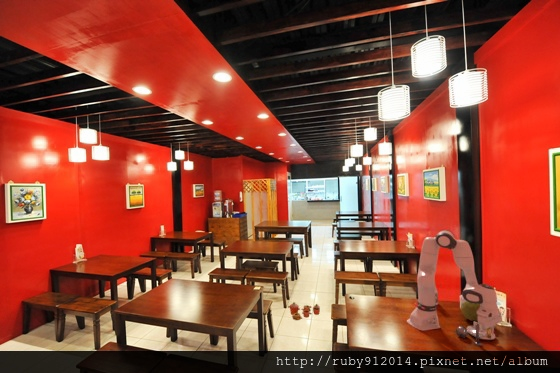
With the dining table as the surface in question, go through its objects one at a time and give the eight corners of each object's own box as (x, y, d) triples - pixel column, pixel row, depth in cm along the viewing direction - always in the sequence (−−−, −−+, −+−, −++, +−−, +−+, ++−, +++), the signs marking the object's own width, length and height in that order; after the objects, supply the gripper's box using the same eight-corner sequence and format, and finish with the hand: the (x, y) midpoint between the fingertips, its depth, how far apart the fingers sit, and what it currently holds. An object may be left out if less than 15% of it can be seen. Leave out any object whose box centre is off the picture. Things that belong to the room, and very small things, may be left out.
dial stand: (479, 346, 156) (478, 325, 156) (471, 342, 160) (471, 322, 160) (483, 345, 158) (482, 324, 158) (475, 341, 162) (475, 321, 162)
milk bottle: (425, 302, 217) (424, 279, 218) (433, 301, 218) (433, 278, 218) (431, 306, 210) (430, 282, 210) (440, 305, 210) (439, 282, 210)
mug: (476, 308, 204) (475, 296, 204) (480, 313, 196) (479, 300, 196) (458, 306, 208) (458, 294, 208) (462, 311, 200) (461, 298, 200)
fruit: (484, 318, 189) (484, 298, 189) (491, 327, 176) (490, 306, 176) (459, 314, 196) (458, 295, 196) (463, 323, 183) (463, 302, 183)
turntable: (467, 335, 166) (467, 324, 166) (466, 325, 179) (465, 315, 179) (497, 342, 158) (496, 331, 158) (493, 331, 170) (492, 320, 170)
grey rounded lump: (469, 331, 166) (468, 334, 162) (464, 337, 168) (462, 340, 165) (460, 324, 170) (458, 326, 166) (455, 330, 172) (453, 332, 169)
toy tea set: (294, 322, 192) (293, 309, 192) (286, 313, 206) (285, 301, 206) (323, 315, 202) (322, 303, 202) (313, 306, 216) (313, 295, 216)
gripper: (492, 304, 170) (494, 325, 169) (474, 312, 162) (476, 333, 161) (504, 308, 164) (506, 329, 164) (485, 316, 156) (488, 338, 156)
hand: (491, 331), depth 162 cm, fingers closed
